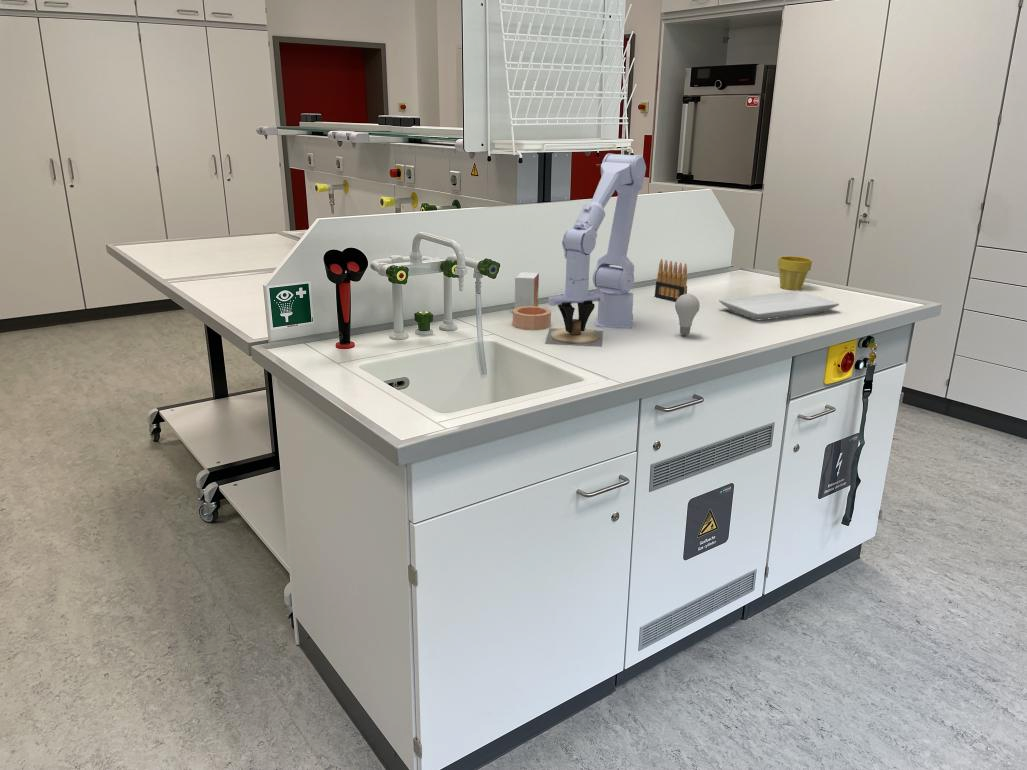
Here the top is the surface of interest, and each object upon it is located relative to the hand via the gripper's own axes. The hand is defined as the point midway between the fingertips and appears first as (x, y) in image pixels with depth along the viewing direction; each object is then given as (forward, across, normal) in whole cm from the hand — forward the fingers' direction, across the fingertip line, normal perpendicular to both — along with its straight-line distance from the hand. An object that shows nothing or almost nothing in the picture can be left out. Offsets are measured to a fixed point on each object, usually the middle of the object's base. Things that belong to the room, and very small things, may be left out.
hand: (575, 330), depth 192 cm
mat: (+2, 0, 0) cm, 2 cm away
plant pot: (+2, -93, -28) cm, 98 cm away
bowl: (+2, +6, -15) cm, 16 cm away
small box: (+2, +1, -29) cm, 29 cm away
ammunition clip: (+2, -46, -27) cm, 53 cm away
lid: (+2, 0, 0) cm, 2 cm away
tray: (+2, -68, -5) cm, 69 cm away
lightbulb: (+2, -28, +8) cm, 29 cm away
